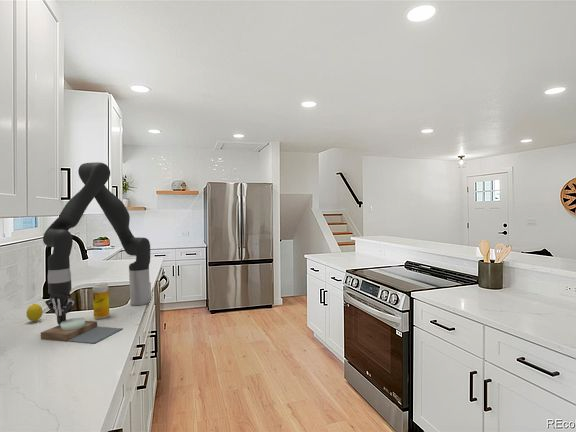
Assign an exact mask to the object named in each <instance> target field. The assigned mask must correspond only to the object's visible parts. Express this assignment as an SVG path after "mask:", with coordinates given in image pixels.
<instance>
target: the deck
mask: <svg viewBox="0 0 576 432" xmlns="http://www.w3.org/2000/svg"><path fill="white" fill-rule="evenodd" d="M96 327H98V321H97V320H85V326H84V327H82V328H80V329H77V330H72V331H62V330H61V325H58V324H57V325H56V326H53V327H52V328H49V329H45V330H44V331H41V332H40V340H48V341H59V342H68V340H70V339H72V338H74V337H76V336H79V335H81V334H83V333H85V332H87V331H89V330H92V329H94V328H96Z"/></svg>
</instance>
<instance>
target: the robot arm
mask: <svg viewBox="0 0 576 432" xmlns="http://www.w3.org/2000/svg"><path fill="white" fill-rule="evenodd" d="M78 176H79V179H80V180H81V182H82V183H83V187H82V188H81V189H80V190H79V191H78V192H77V193H76V194H75V195H73V196H72V197H71V198H70V199H69V200H68V201H67V202H66V204H65V205H64V207H63V208H62V210H61V212H60V213H59V215H58V217H57V218H56V219H55V220H54V221H53V222H52V223H51V224H50V226H48V228H47V229H46V230H45V232H44V233H43V236H42V241H43V244H44V245H45V246H46V247H48V248H49V247H50V248H53V251H52V253H51V254H49V255H48V257H47V289H48V291H47V293H48V294H49V295H50V296H49V299H47V300H45V302H44V303H45V304H46V306H47V307H48V309H49V311H50V312H51V313H52V314H55V316H56V322H57V326H58V325H61V324H60V323H61V322H62V321H65V320H67V314H69V313H71V312H72V310H73V308H74V306H75V305H76V303H77V301H76V299H75V300H74V299H72V296H71V293H70V292H71V291H72V287H73V286H72V271H71V267H70V266H71V265H70V256H71V252H72V248H73V241H74V240H73V238H74V237H73V235H72V234H71V232H70V231H69V230H70V229H72V228H75V227H76V226H77V225H78V224H79V222H80V220H81V218H82V217H83V216H84V213H85V211H86V210H87V209H88V206H89V205H90V204H91V202H92V201H93V200H94V199H95V201H96V202H97V204H98V206H99V207H100V209H101V210H102V212H103V214H104V215H105V217H106V219H107V220H108V222H109V224H110V225H111V227H112V228H113V230H114V231H115V234H116V235H117V237H118V239H119V241H120V244H121V245H122V248H123V250H124V251H125V254H127V255H129V256H134V257H136V258H135V261H134V262H131V263H129V265H128V273H129V274H128V277H129V298H130V299H129V300H130V301H129V303H130V305H131V306H143V305H147V304H149V303H151V301H152V283H151V281H150V263H151V242H150V240H149V239H148V238H146V237H135V236H134V235H133V233H132V232H131V230H130V220H131V219H130V218H131V216H130V213H129V211H128V209H127V207H126V206H125V204H124V202H123V201H122V200H121V199H120V198H119V197H118V196H117V195H115V194H114V193H113V192H112V191H110V190H109V188H107V186H106V183H107V182H108V181H109V179H110V176H111V170H110V167H109V166H108V165H107V164H106V163H104V162H99V161H98V162H85V163H82V164H80V166H79V167H78Z"/></svg>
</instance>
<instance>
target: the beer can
mask: <svg viewBox="0 0 576 432" xmlns="http://www.w3.org/2000/svg"><path fill="white" fill-rule="evenodd" d="M109 294H110V293H109V284H108V282H104V281H103V282H97V283H96V282H95V283H93V286H92V303H93V304H92V306H93V318H95V319H96V320H103V319H107V318H108V317H109V316H110V295H109Z"/></svg>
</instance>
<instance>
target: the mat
mask: <svg viewBox="0 0 576 432" xmlns="http://www.w3.org/2000/svg"><path fill="white" fill-rule="evenodd" d="M122 330H124V329H123V327H109V326H97V327H96V328H94V329H92V330H89V331H87V332H85V333H83V334H81V335H79V336H76V337H74V338H72V339H70V340H68V341H67V342H69V343H79V344H80V343H81V344H91V345H92V344H93V345H95V344H98V343H99V342H101V341H103V340H105V339H107V338H109V337H111V336H112V335H114V334H116V333H119V332H121V331H122Z"/></svg>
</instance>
